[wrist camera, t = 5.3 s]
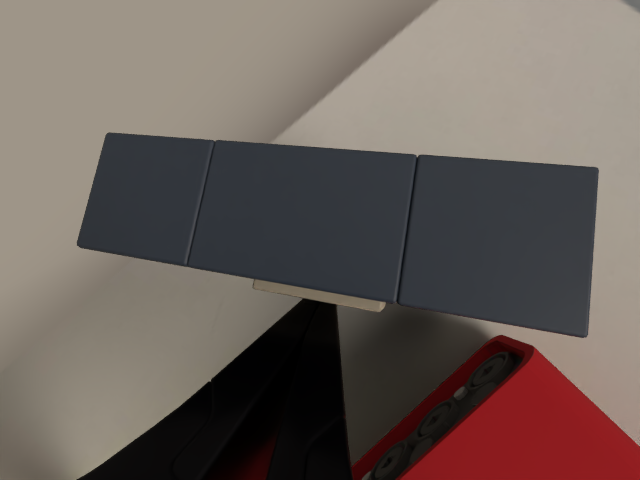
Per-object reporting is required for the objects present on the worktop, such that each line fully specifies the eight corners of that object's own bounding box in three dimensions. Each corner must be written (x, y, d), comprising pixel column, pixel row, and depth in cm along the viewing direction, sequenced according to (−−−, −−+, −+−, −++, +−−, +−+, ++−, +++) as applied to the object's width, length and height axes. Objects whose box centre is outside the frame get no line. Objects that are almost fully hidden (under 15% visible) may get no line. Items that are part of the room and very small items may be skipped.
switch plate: (449, 308, 16) (588, 339, 5) (276, 278, 18) (73, 246, 7) (455, 258, 16) (600, 165, 5) (284, 233, 19) (105, 130, 7)
